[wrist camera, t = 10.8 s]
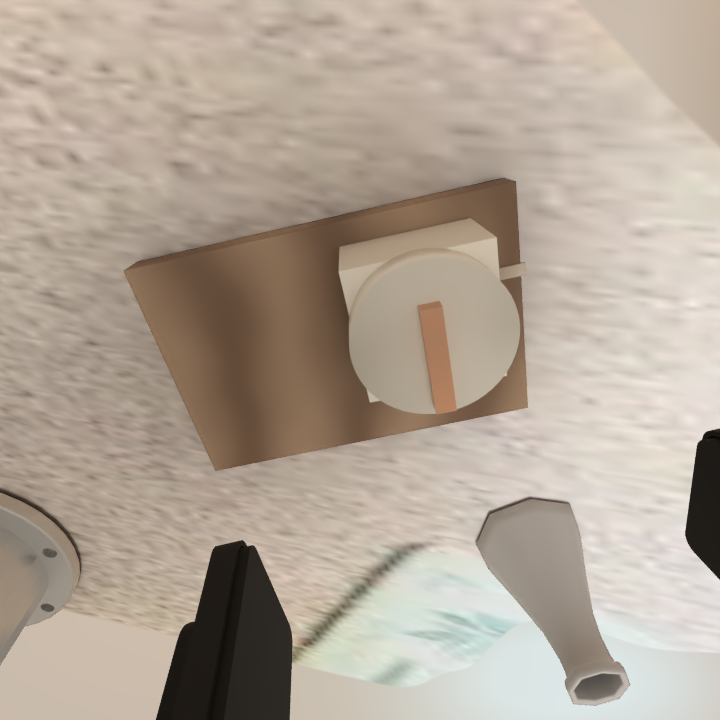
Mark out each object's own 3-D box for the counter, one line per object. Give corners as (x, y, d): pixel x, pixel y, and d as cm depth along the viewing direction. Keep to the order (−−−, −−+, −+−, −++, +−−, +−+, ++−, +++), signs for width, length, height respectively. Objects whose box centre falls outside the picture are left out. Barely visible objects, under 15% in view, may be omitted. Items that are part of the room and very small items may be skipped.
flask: (475, 575, 34) (525, 734, 25) (475, 502, 31) (532, 655, 22) (572, 563, 34) (657, 718, 25) (582, 489, 31) (684, 637, 22)
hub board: (221, 453, 28) (199, 516, 23) (137, 261, 22) (86, 296, 18) (520, 391, 27) (558, 445, 22) (508, 176, 21) (554, 189, 17)
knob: (334, 243, 21) (330, 285, 15) (474, 212, 20) (521, 243, 15) (363, 365, 24) (368, 436, 18) (486, 340, 23) (529, 405, 18)
